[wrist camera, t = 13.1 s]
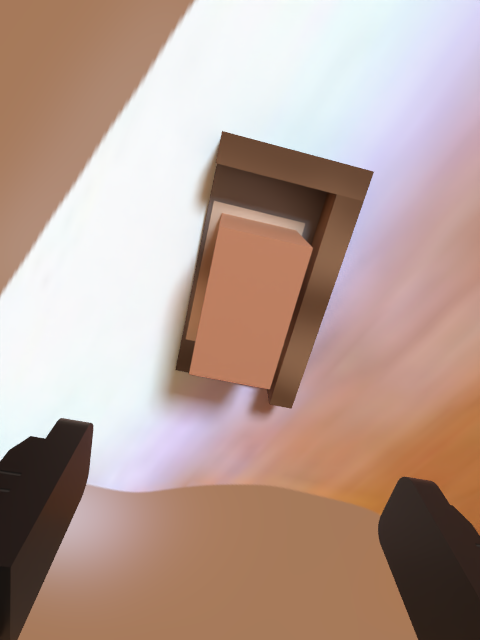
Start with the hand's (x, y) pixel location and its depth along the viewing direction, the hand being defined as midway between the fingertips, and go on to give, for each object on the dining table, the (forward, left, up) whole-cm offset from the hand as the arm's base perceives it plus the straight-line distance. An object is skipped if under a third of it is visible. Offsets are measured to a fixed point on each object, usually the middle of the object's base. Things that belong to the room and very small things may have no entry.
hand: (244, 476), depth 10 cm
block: (0, 0, -15) cm, 15 cm away
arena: (+1, -1, -16) cm, 16 cm away
